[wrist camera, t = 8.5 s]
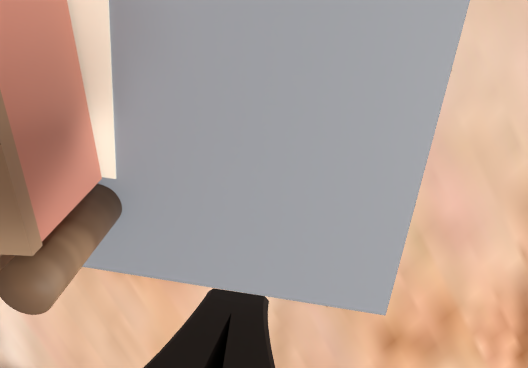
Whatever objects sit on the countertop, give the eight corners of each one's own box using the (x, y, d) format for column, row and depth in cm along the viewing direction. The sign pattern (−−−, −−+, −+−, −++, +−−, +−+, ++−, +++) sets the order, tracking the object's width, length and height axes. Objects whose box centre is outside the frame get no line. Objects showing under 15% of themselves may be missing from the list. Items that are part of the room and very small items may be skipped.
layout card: (384, 311, 23) (385, 316, 22) (-114, 230, 24) (-120, 235, 24) (502, -131, 15) (505, -132, 15) (-240, -203, 17) (-252, -206, 16)
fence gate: (106, 178, 21) (34, 256, 16) (74, 177, 21) (-7, 254, 16) (47, -132, 16) (-84, -161, 11) (6, -129, 16) (-141, -157, 11)
